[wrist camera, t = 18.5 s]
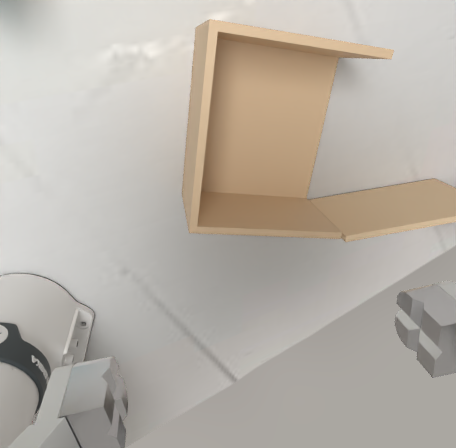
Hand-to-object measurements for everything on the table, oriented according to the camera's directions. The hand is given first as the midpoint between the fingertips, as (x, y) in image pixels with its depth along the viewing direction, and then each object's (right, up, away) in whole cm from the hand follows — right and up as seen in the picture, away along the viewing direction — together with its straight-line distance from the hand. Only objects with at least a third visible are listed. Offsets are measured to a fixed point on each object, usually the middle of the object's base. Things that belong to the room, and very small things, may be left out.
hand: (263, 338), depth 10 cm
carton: (+3, +16, +37) cm, 40 cm away
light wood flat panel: (+21, +8, +44) cm, 49 cm away
